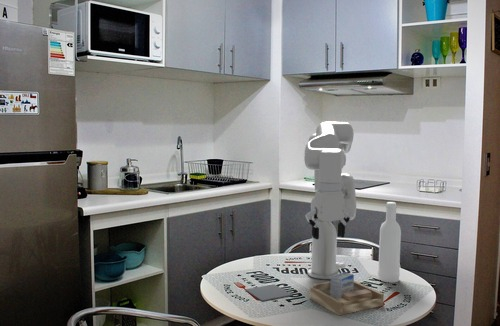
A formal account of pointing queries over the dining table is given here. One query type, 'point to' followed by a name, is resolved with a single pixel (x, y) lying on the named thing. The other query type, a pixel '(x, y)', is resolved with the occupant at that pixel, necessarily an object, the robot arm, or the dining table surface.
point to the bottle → (389, 246)
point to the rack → (322, 297)
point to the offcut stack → (356, 297)
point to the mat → (268, 292)
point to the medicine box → (341, 284)
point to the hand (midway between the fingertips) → (328, 237)
